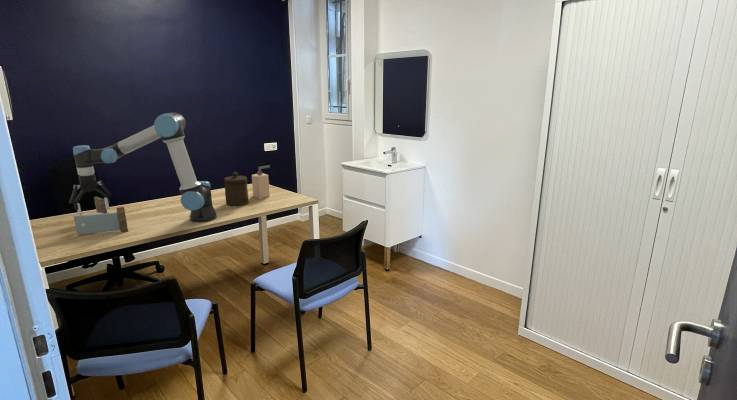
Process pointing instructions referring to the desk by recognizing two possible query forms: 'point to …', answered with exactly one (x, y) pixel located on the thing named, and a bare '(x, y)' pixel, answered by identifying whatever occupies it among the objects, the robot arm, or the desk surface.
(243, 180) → the wooden container
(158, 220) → the desk surface
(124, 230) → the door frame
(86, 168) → the robot arm
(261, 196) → the soap dispenser
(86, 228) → the door
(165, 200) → the desk surface
